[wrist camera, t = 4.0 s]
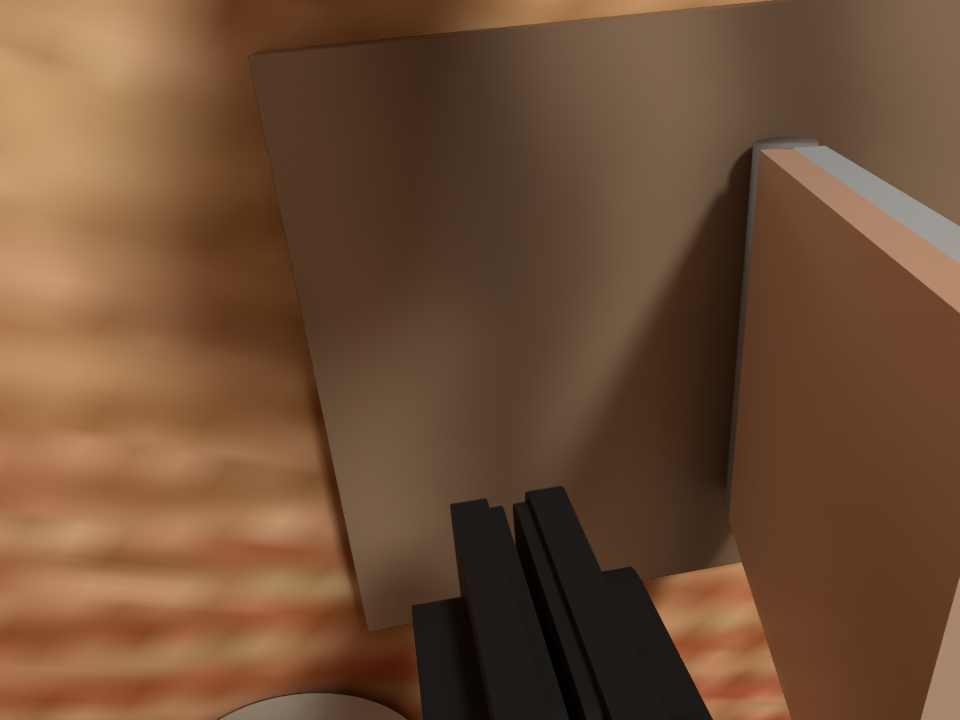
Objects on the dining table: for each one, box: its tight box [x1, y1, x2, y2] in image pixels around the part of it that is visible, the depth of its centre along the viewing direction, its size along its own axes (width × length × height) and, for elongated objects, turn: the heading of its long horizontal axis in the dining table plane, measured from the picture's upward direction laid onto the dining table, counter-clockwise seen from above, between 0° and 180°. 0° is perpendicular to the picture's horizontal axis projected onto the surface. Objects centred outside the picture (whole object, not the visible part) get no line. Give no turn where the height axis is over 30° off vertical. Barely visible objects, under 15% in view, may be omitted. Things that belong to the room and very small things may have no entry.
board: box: [248, 0, 960, 632], centre depth 18 cm, size 20×14×2 cm
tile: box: [724, 137, 960, 720], centre depth 13 cm, size 10×9×1 cm
